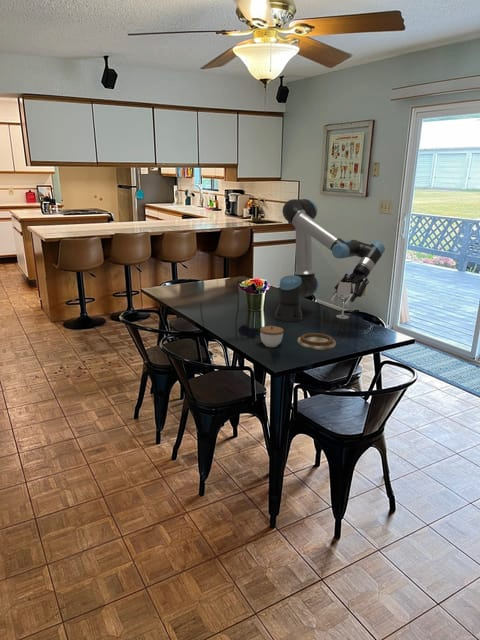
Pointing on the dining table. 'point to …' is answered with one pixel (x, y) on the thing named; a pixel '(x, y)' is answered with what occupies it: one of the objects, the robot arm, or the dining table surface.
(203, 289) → the dining table surface
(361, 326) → the dining table surface
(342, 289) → the wineglass
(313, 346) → the ring tray
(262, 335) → the lidded jar
